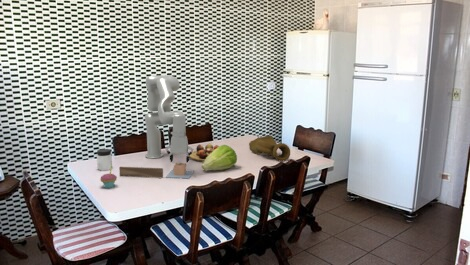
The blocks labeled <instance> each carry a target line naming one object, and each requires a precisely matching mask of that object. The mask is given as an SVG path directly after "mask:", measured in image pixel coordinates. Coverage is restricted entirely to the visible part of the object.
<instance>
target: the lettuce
mask: <svg viewBox="0 0 470 265" xmlns="http://www.w3.org/2000/svg"><path fill="white" fill-rule="evenodd" d="M218 146H219V145H218ZM237 161H238V155H237V153H236V151H235V150H234V148H232V147H231V146H229V145H226V144H222V145H220V146H219V147H218V148H216V149H215V150H214V151H213V152H212V153H211V154H210V155H209V156H207V158H206V159H205V161H204V162H202V165H201V168H202V170H203V171H224V170H229V169H230V168H232V167H233V166H235V164H236V163H237Z"/></svg>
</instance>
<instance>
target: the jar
mask: <svg viewBox="0 0 470 265" xmlns="http://www.w3.org/2000/svg"><path fill="white" fill-rule="evenodd" d="M96 151H97V152H96V154H97V155H96V161H97V162H96V163H97V170H99V171H109V170H110V168H111V166H112V167H113V159H112V158H113V157H112V156H113V155H112V151H111V149H109V148H103V149H98V150H96Z"/></svg>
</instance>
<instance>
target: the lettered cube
mask: <svg viewBox="0 0 470 265" xmlns="http://www.w3.org/2000/svg"><path fill="white" fill-rule="evenodd" d="M173 170H174V175H183V176H184V175H185V173H186V170H187V163H186V162H175V164H174V165H173Z"/></svg>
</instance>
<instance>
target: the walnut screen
mask: <svg viewBox="0 0 470 265" xmlns="http://www.w3.org/2000/svg"><path fill="white" fill-rule="evenodd" d="M119 177H130V178H131V177H134V178H135V177H136V178H151V179H152V178H156V179H157V178H159V179H163V178H164V167H163V168H161V167H142V166H141V167H138V166H119Z"/></svg>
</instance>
